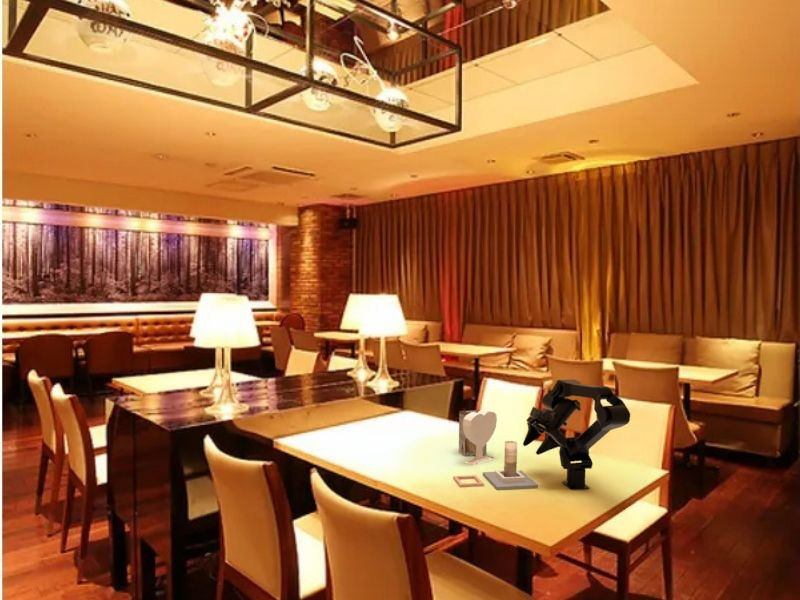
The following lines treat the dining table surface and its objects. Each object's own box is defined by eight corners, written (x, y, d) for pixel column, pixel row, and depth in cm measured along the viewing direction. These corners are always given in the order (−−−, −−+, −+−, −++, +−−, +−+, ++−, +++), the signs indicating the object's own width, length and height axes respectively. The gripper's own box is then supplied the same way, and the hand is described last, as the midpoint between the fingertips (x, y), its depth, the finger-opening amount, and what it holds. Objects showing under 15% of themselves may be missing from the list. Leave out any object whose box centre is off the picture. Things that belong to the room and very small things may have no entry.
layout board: (538, 488, 185) (538, 480, 185) (497, 490, 183) (497, 482, 183) (521, 473, 199) (521, 466, 199) (482, 475, 196) (482, 467, 196)
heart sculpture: (486, 454, 220) (488, 407, 219) (497, 457, 216) (498, 410, 216) (460, 462, 209) (461, 413, 209) (471, 466, 206) (472, 416, 205)
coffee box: (479, 450, 225) (480, 409, 225) (486, 455, 219) (487, 413, 218) (457, 451, 223) (459, 410, 222) (464, 456, 217) (465, 414, 216)
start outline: (483, 485, 186) (483, 483, 186) (460, 487, 185) (460, 484, 185) (476, 477, 194) (476, 475, 194) (453, 478, 192) (453, 476, 192)
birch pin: (518, 480, 189) (519, 444, 189) (506, 480, 188) (507, 444, 188) (513, 476, 193) (514, 440, 193) (502, 476, 192) (503, 441, 192)
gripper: (531, 392, 201) (502, 426, 199) (559, 405, 183) (527, 442, 180) (551, 413, 203) (523, 446, 201) (581, 427, 185) (550, 464, 183)
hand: (530, 449), depth 191 cm, fingers open, 9 cm apart
